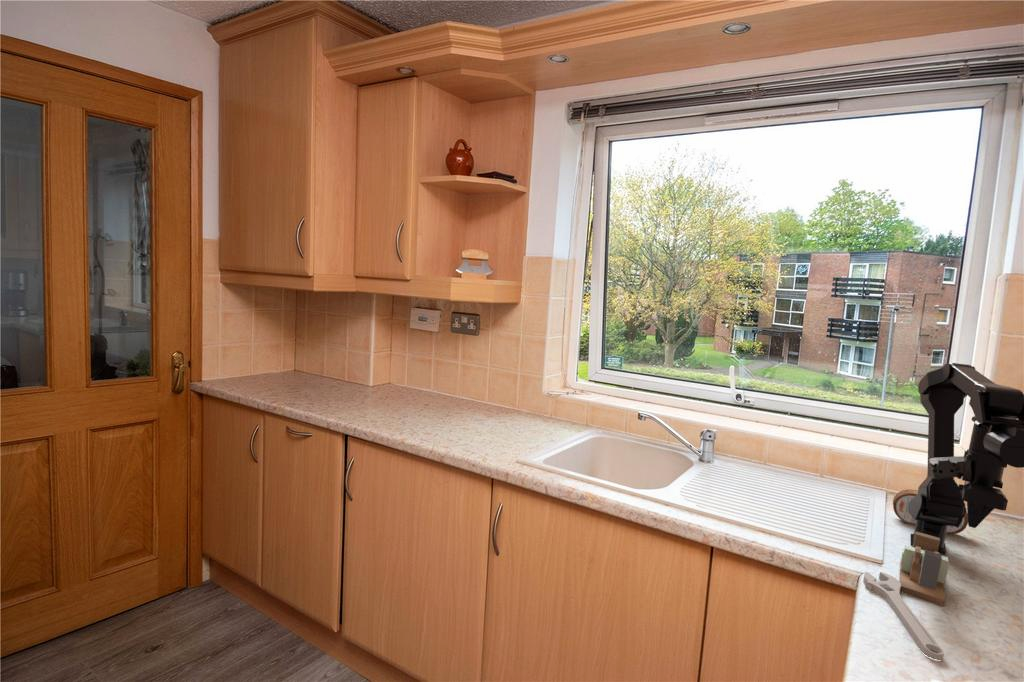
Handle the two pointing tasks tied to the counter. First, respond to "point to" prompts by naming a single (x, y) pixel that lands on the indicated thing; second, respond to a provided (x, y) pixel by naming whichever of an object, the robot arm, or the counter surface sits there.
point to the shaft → (930, 569)
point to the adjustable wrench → (903, 613)
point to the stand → (912, 579)
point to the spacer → (909, 553)
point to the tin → (902, 512)
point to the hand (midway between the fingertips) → (971, 526)
